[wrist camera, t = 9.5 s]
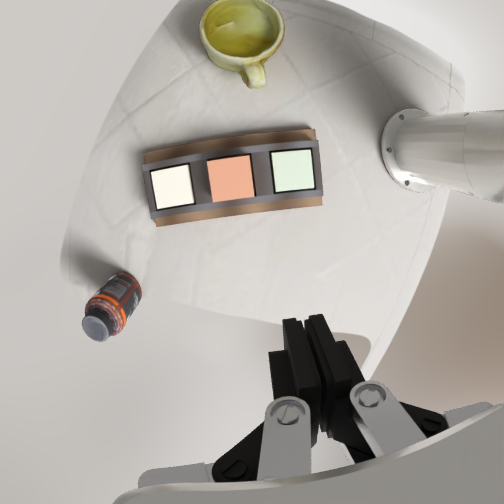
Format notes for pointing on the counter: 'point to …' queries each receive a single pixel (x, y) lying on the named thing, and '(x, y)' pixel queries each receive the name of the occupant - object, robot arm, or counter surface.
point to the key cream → (173, 186)
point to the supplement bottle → (111, 307)
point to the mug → (242, 36)
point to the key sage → (292, 170)
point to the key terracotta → (230, 178)
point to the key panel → (261, 172)
